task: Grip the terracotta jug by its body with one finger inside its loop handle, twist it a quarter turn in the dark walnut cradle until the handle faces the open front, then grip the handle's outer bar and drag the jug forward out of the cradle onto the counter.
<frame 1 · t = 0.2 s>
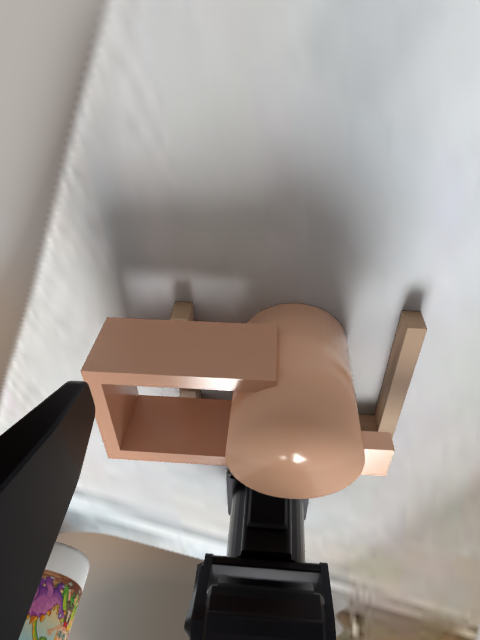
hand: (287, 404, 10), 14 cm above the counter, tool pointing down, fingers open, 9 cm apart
milk bottle: (55, 553, 48), on the counter
cradle: (292, 346, 27), on the counter
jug: (240, 393, 25), in the cradle
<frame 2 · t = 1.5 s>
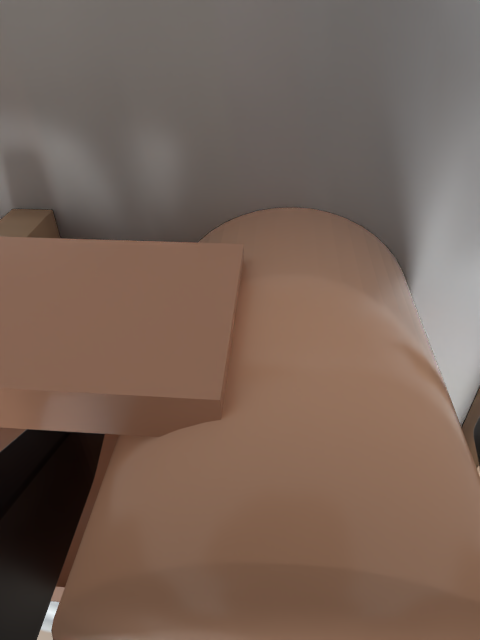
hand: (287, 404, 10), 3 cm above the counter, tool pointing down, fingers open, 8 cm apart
cradle: (286, 317, 13), on the counter
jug: (152, 427, 10), in the cradle, touching gripper
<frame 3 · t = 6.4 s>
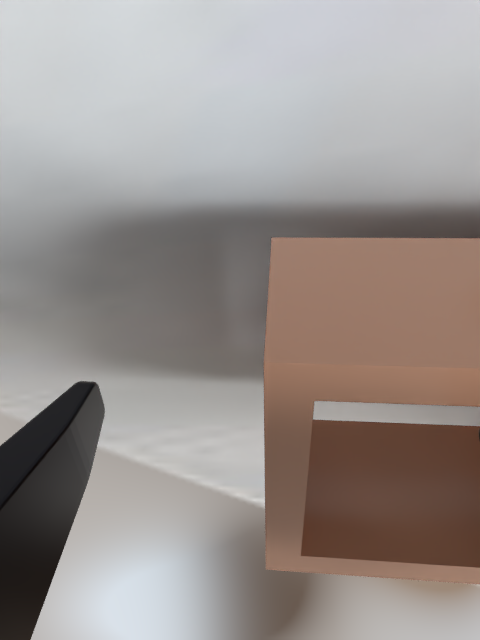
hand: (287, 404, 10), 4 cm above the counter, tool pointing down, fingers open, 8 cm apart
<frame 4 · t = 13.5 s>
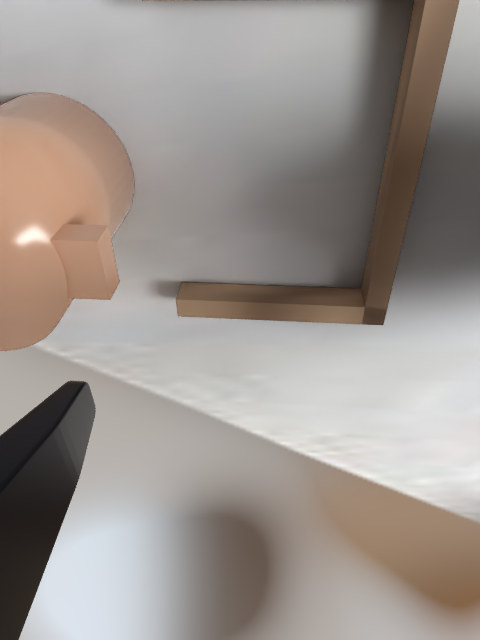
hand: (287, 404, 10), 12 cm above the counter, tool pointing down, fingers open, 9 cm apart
cradle: (240, 167, 19), on the counter
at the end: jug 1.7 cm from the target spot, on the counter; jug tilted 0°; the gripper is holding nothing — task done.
